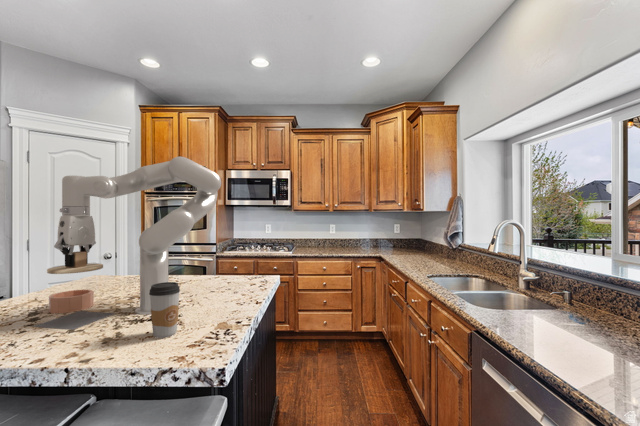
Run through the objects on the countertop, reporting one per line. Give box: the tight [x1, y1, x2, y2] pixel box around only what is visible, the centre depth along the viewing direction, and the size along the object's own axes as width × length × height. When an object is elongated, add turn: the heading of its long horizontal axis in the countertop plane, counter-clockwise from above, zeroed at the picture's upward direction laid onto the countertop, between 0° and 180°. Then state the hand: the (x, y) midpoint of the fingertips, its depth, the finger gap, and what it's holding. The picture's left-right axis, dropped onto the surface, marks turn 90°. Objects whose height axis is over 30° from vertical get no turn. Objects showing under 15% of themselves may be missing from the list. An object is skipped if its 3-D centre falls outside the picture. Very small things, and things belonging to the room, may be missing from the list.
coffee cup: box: [149, 281, 181, 339], centre depth 93 cm, size 8×8×15 cm
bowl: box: [48, 289, 95, 314], centre depth 118 cm, size 13×13×6 cm
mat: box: [31, 310, 117, 331], centre depth 105 cm, size 16×16×1 cm
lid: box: [46, 251, 104, 275], centre depth 105 cm, size 15×15×6 cm
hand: (76, 264), depth 105 cm, fingers closed on lid, 4 cm apart
